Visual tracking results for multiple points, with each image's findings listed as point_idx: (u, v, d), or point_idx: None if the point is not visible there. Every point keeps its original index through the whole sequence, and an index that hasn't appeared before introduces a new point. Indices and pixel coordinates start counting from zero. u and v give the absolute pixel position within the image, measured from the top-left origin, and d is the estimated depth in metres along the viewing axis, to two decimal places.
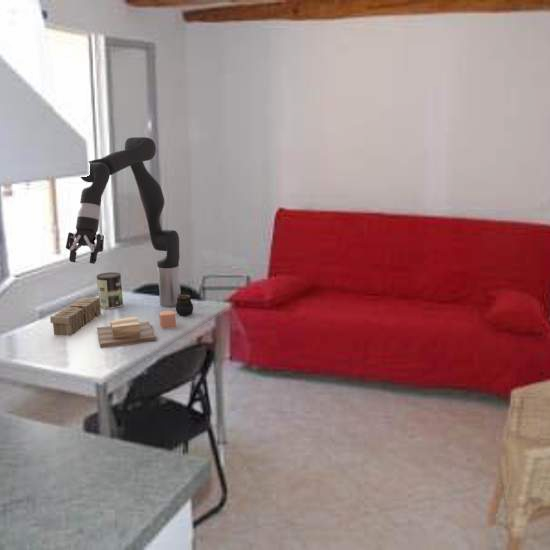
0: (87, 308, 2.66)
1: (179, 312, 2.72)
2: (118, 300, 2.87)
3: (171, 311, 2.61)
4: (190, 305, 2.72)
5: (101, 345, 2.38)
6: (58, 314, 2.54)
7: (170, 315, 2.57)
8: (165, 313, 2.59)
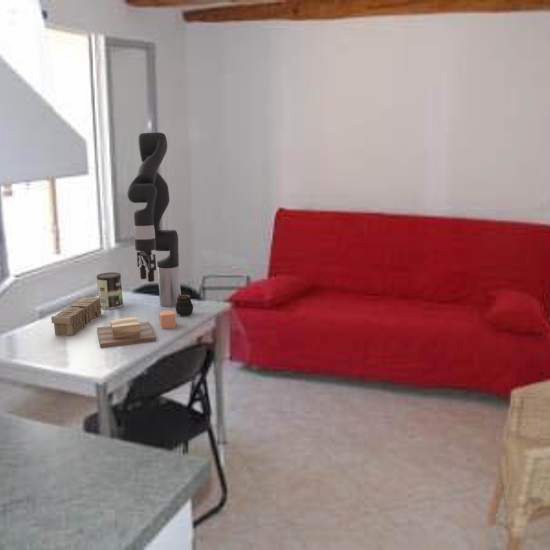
0: (88, 308, 2.66)
1: (179, 312, 2.72)
2: (118, 300, 2.87)
3: (171, 311, 2.61)
4: (190, 305, 2.72)
5: (101, 345, 2.38)
6: (59, 314, 2.54)
7: (170, 315, 2.57)
8: (165, 313, 2.59)
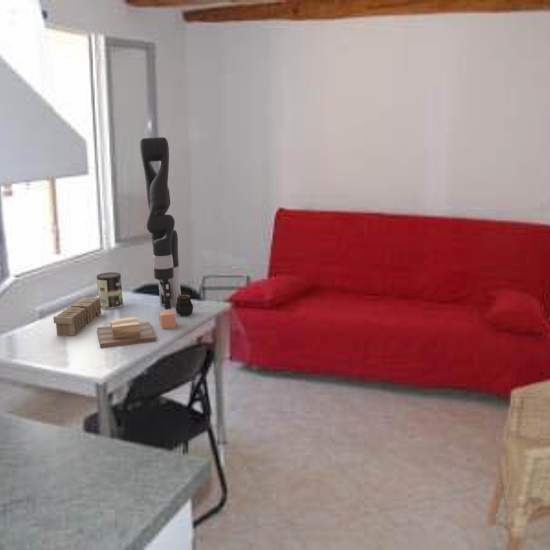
0: (89, 308, 2.66)
1: (179, 312, 2.72)
2: (118, 300, 2.87)
3: (171, 311, 2.61)
4: (190, 305, 2.72)
5: (101, 345, 2.38)
6: (61, 314, 2.54)
7: (170, 315, 2.57)
8: (165, 313, 2.59)
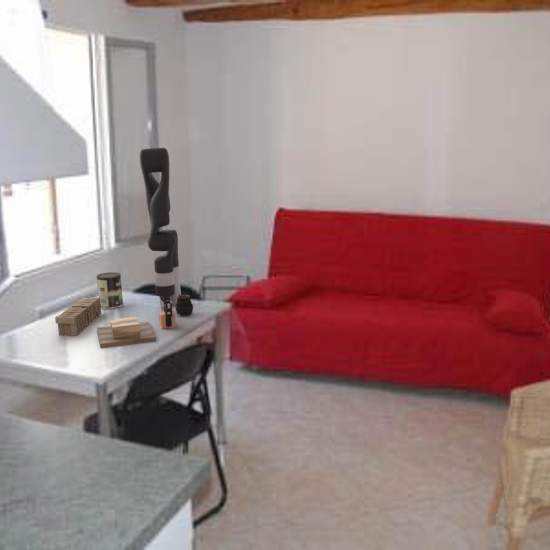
0: (89, 308, 2.66)
1: (179, 312, 2.72)
2: (118, 300, 2.87)
3: None
4: (190, 305, 2.72)
5: (101, 345, 2.38)
6: (62, 314, 2.54)
7: None
8: None
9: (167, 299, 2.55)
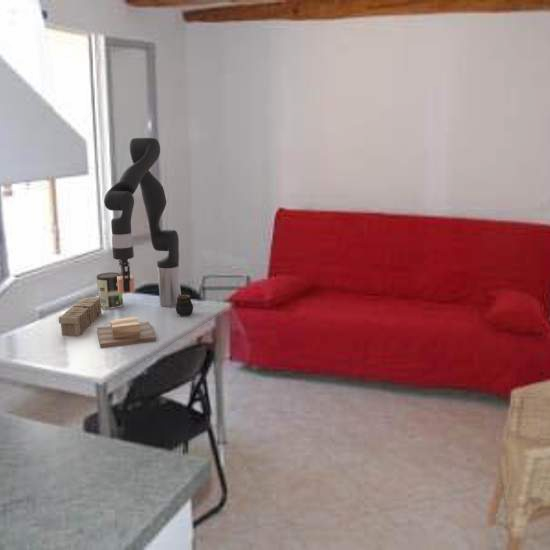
0: (91, 308, 2.66)
1: (179, 312, 2.72)
2: (118, 300, 2.87)
3: (130, 276, 2.47)
4: (190, 305, 2.72)
5: (101, 345, 2.38)
6: (65, 314, 2.54)
7: None
8: None
9: (125, 262, 2.40)
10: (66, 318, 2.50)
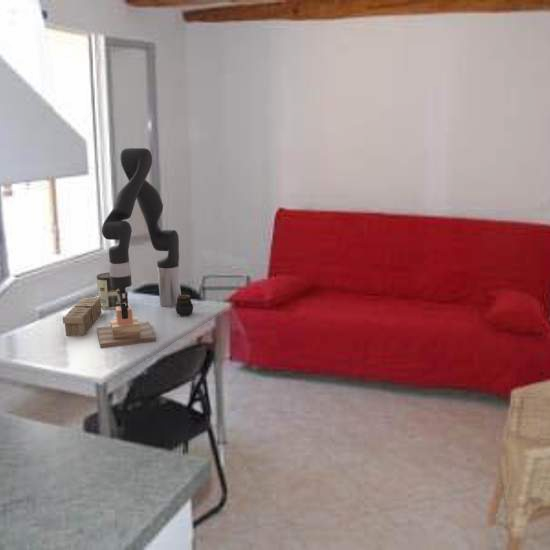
0: (93, 308, 2.66)
1: (179, 312, 2.72)
2: (118, 300, 2.87)
3: (128, 306, 2.49)
4: (190, 305, 2.72)
5: (101, 345, 2.38)
6: (69, 314, 2.54)
7: None
8: None
9: (122, 291, 2.42)
10: (70, 318, 2.50)
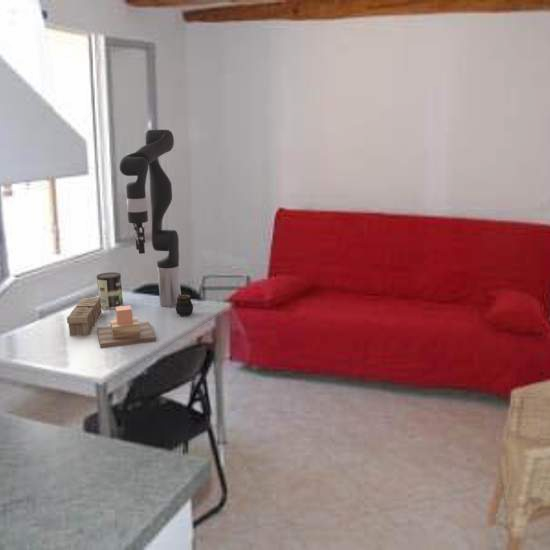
0: (94, 307, 2.66)
1: (179, 312, 2.72)
2: (118, 300, 2.87)
3: (128, 306, 2.49)
4: (190, 305, 2.72)
5: (101, 345, 2.38)
6: (72, 314, 2.54)
7: (126, 311, 2.45)
8: (121, 308, 2.47)
9: (139, 226, 2.49)
10: (75, 318, 2.50)
